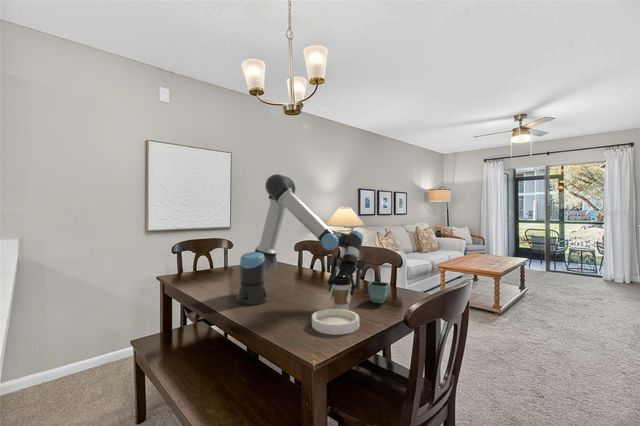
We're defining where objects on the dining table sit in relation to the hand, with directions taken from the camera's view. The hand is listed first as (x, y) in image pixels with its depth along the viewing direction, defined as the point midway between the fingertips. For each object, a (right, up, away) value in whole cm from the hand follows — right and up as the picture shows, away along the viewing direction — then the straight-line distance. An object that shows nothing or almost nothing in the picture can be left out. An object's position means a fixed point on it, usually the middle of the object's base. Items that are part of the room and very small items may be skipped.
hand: (338, 300), depth 136 cm
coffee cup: (+1, -6, +3) cm, 7 cm away
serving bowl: (-2, -6, -14) cm, 15 cm away
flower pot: (+21, -6, +16) cm, 27 cm away
